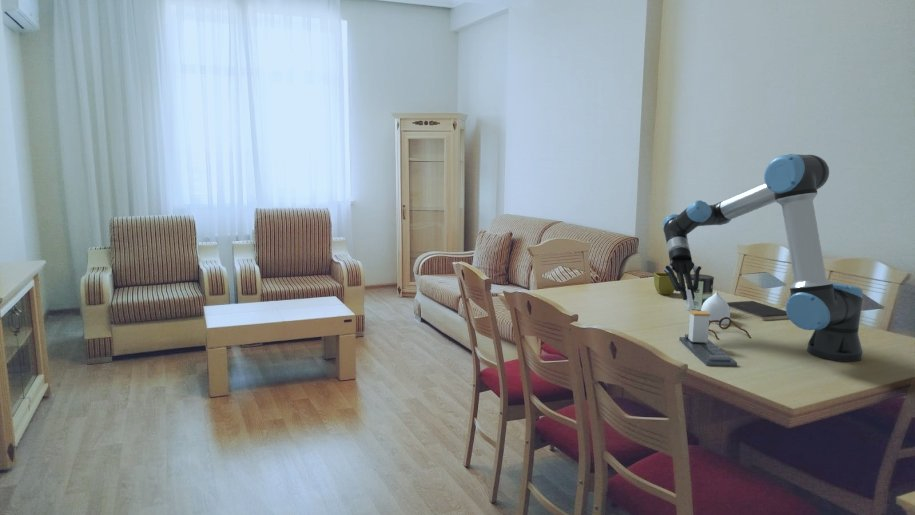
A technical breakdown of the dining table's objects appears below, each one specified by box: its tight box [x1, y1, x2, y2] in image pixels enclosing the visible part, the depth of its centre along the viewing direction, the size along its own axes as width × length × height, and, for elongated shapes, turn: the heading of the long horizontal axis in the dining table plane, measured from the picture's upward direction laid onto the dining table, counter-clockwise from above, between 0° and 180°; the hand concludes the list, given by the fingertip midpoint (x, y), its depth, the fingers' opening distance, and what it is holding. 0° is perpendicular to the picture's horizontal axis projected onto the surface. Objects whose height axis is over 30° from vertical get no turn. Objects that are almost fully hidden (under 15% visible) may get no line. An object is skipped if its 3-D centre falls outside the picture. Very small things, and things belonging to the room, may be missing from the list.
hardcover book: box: [726, 300, 789, 321], centre depth 253 cm, size 16×23×2 cm
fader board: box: [678, 333, 738, 367], centre depth 199 cm, size 26×9×2 cm, turn 178°
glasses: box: [708, 317, 752, 341], centre depth 221 cm, size 13×13×5 cm
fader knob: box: [688, 311, 710, 342], centre depth 206 cm, size 4×5×10 cm
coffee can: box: [685, 273, 715, 312], centre depth 255 cm, size 10×10×14 cm
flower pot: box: [653, 272, 678, 295], centre depth 285 cm, size 9×9×9 cm
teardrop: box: [701, 290, 731, 325], centre depth 238 cm, size 11×11×12 cm
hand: (690, 307), depth 213 cm, fingers closed
